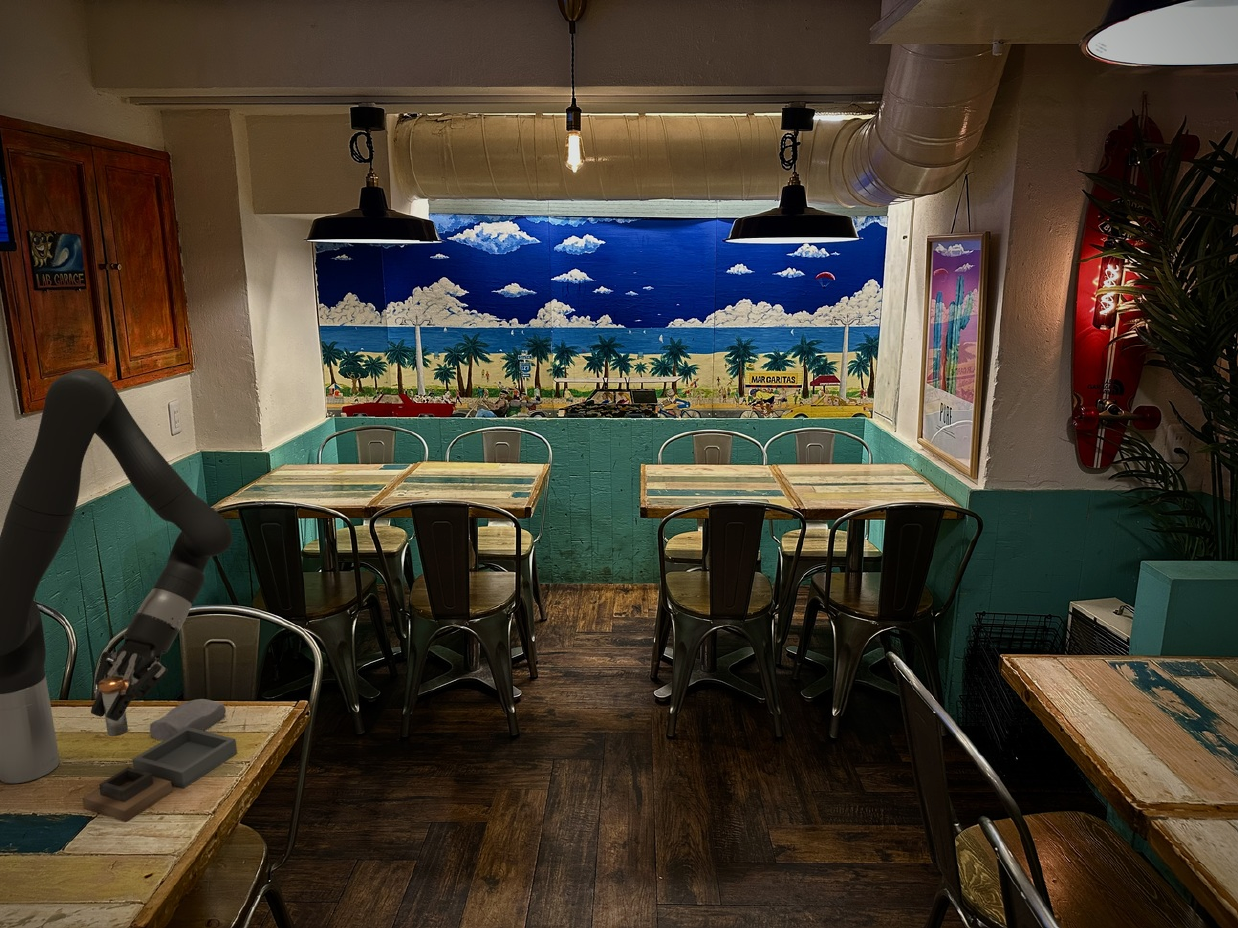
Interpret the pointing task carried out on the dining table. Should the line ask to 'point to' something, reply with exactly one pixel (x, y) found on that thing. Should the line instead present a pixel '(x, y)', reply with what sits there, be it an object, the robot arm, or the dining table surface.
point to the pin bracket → (127, 794)
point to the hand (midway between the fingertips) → (104, 716)
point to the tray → (186, 756)
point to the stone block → (188, 718)
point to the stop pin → (109, 692)
